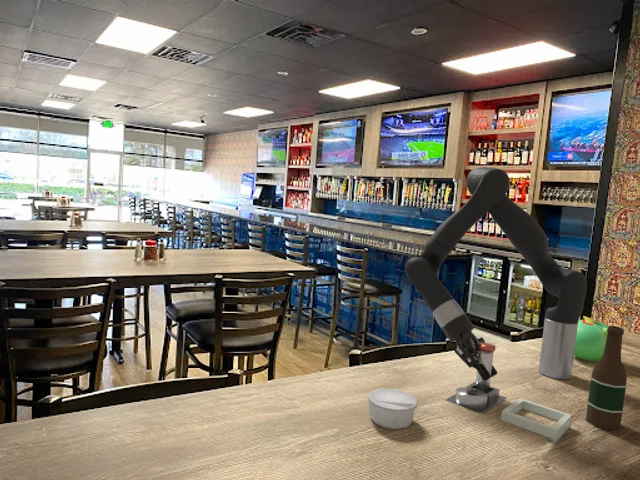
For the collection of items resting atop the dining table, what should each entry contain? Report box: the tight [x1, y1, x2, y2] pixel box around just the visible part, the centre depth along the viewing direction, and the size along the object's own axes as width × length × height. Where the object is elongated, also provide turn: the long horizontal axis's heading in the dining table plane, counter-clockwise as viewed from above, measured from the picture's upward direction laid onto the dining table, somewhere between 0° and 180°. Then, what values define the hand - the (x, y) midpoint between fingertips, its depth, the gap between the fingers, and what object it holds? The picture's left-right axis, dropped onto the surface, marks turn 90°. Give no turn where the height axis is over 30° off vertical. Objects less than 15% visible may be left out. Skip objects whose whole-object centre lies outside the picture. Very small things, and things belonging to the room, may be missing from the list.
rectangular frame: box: [500, 397, 573, 445], centre depth 113 cm, size 12×12×3 cm
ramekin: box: [367, 387, 418, 430], centre depth 110 cm, size 11×11×5 cm
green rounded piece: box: [574, 315, 624, 362], centre depth 168 cm, size 18×17×15 cm
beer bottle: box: [585, 325, 628, 431], centre depth 116 cm, size 8×8×24 cm
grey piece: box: [445, 381, 507, 415], centre depth 124 cm, size 15×10×4 cm, turn 138°
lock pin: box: [475, 342, 497, 393], centre depth 126 cm, size 4×4×13 cm
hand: (491, 376), depth 124 cm, fingers closed on lock pin, 3 cm apart
